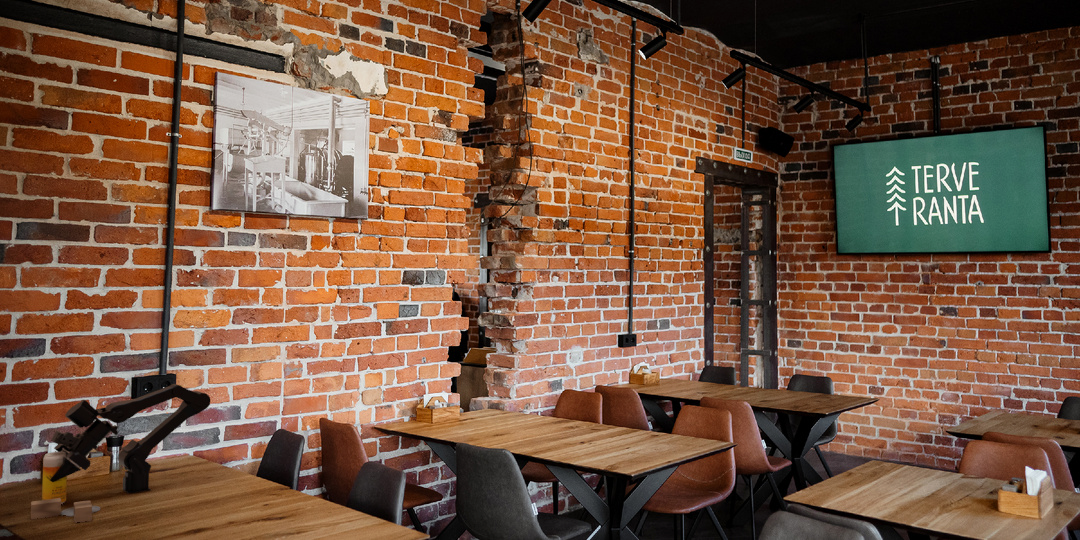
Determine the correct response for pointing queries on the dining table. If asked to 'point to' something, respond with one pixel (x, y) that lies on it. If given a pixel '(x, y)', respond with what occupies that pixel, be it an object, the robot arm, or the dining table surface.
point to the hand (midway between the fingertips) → (48, 479)
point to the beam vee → (53, 508)
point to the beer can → (49, 469)
